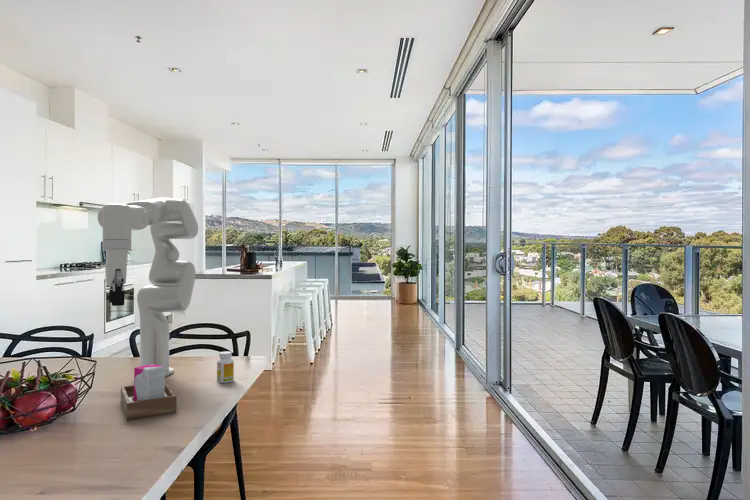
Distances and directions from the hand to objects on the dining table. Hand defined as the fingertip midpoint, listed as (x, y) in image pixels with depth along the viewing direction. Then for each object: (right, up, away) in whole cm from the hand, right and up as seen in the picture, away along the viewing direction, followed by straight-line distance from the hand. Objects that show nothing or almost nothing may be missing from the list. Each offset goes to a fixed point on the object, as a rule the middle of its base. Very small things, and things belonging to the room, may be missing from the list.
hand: (116, 303), depth 142 cm
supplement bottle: (+26, -29, +21) cm, 44 cm away
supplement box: (+14, -28, -9) cm, 32 cm away
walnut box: (+12, -28, -6) cm, 32 cm away
